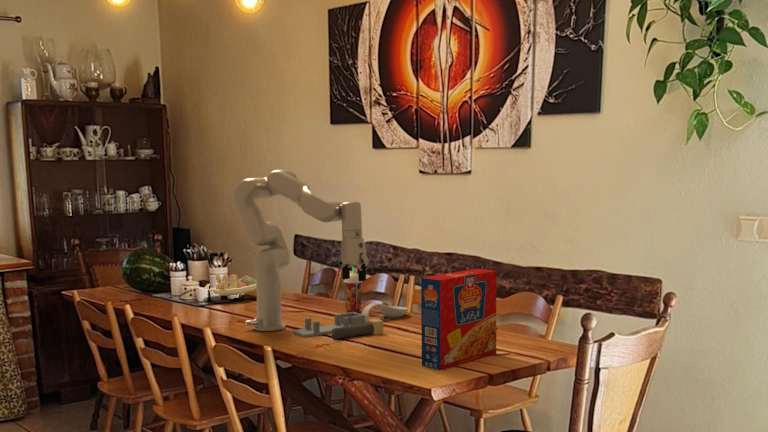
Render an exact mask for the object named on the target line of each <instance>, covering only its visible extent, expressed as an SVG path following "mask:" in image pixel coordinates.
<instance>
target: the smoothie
mask: <svg viewBox="0 0 768 432" xmlns="http://www.w3.org/2000/svg"><path fill="white" fill-rule="evenodd" d="M351 270H352V271H351V272H350V278H349V279H343V288H344V289H343V292H344V304H345V310H346V313H349V312H356V313H357V312H358V313H360V312H361V309H362V301H363V299H362V298H363V296H362V293H363V282H364V281H359V280H358V273H355V271H354V270H355V269H354V266H351Z"/></svg>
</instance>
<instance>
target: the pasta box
mask: <svg viewBox="0 0 768 432" xmlns="http://www.w3.org/2000/svg"><path fill="white" fill-rule="evenodd" d="M420 283H421V284H420V291H421V293H420V294H421V297H420V301H421V303H420V304H421V305H420V307H421V309H420V310H421V313H420V314H421V316H420V317H421V318H420V320H421V366H422V367H425V368H429V367H430V369H432V368H434V369H433V370H436V369H438V370H437V371H440V370H442V371H445V370H448V369H451V368H453V367H454V366H455V367H457V366H461V365H464V364H467V363H471V362H473V361H477V360H480V359H484V358H486V357H490V356H493V355H496V354H497V270H491V269H482V268H472V269H467V270H460V271H456V272H447V273H443V274H442V273H441V274H436V275H430V276H429V275H428V276H423V277H420ZM447 368H448V369H447ZM444 369H445V370H444Z"/></svg>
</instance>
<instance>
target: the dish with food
mask: <svg viewBox="0 0 768 432" xmlns="http://www.w3.org/2000/svg"><path fill="white" fill-rule="evenodd" d="M215 279H216V280H217V282H218V283H219V284H218V285H217V286H216V289H209V286H210V283H207V284H206V285H205V286H204V287H203V288H206V289H208V290H209V291H213V292H214V293H215V294H219V295H218V296H221V297H226V296H230V295H238V294H240V295H243V294H247V293H249V292H252V291H254V290H256V278H253V277H252V276H249V275H244V276H242V277H241V278H239V275H238V274H236V273H234V274H230V275H229V276H228V274H227V273H224V274H223V276H222V278H221V275H220V274H219V273H218V274H216V276H215ZM221 281H222V282H221ZM227 288H228V289H227Z"/></svg>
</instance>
